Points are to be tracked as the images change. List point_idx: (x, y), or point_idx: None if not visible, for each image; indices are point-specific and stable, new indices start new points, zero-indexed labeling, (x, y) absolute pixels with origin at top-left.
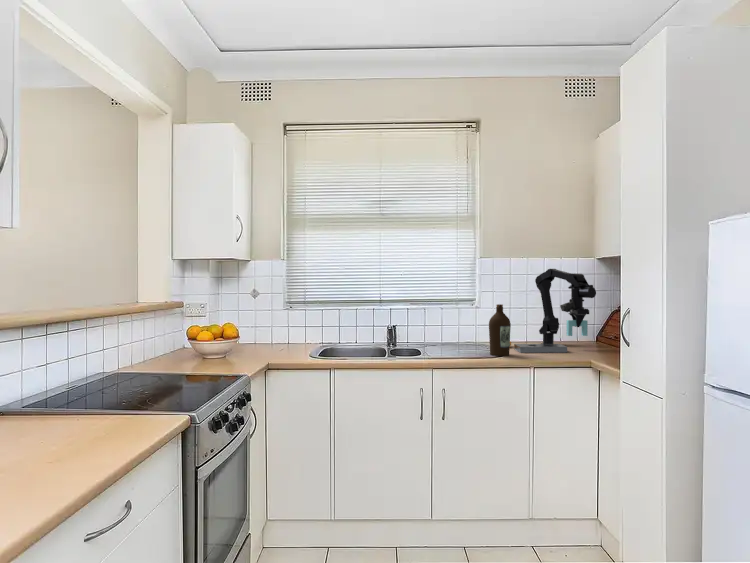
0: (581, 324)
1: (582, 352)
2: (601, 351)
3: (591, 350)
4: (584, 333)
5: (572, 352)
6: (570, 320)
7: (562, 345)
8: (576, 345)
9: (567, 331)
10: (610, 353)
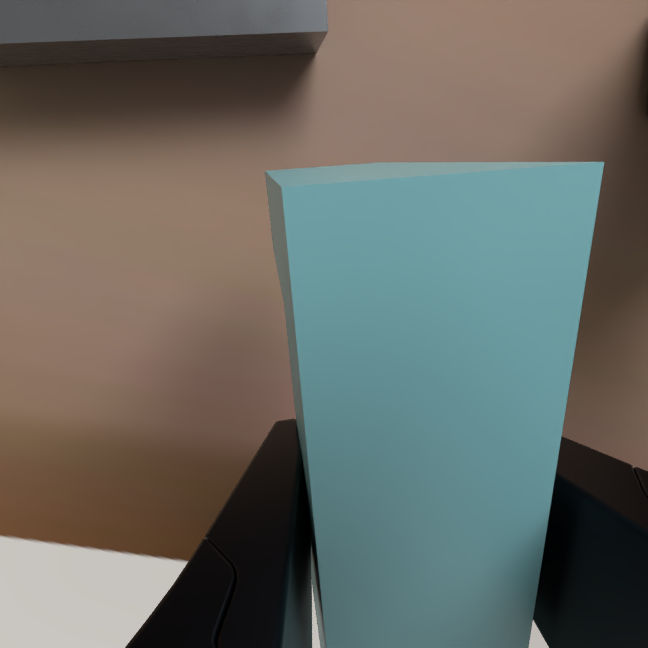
0: (312, 565)
1: (67, 281)
2: (190, 477)
3: (254, 408)
4: None
5: (35, 154)
6: (397, 322)
7: (99, 12)
8: (615, 354)
9: (343, 167)
10: (55, 522)
